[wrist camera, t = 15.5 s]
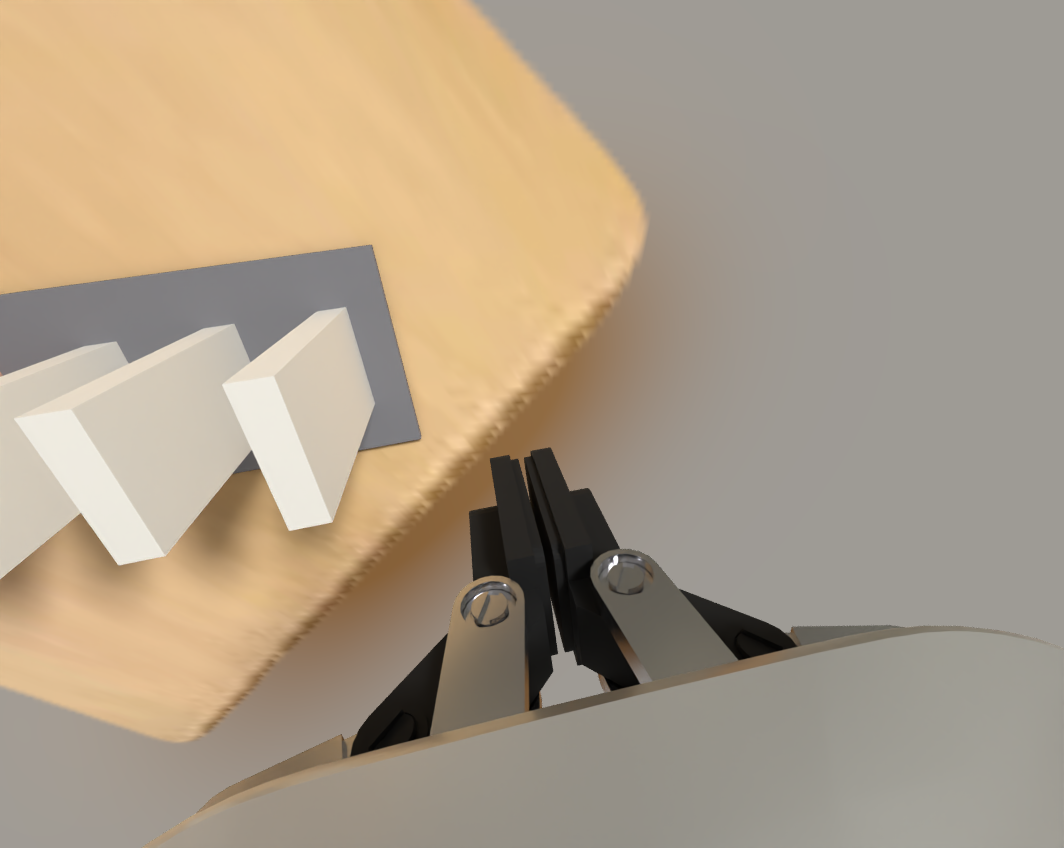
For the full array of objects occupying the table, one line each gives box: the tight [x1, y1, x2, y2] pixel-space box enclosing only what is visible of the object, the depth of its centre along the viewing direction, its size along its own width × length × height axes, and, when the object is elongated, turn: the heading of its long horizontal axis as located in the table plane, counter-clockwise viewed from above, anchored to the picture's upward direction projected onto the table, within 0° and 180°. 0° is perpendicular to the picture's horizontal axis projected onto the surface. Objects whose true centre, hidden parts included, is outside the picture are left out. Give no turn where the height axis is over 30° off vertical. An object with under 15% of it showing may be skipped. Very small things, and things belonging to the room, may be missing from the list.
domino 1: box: [0, 342, 129, 579], centre depth 20 cm, size 2×6×12 cm, turn 7°
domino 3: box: [222, 307, 375, 531], centre depth 21 cm, size 2×6×12 cm, turn 7°
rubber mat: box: [0, 245, 421, 474], centre depth 25 cm, size 36×12×1 cm, turn 97°
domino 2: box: [14, 324, 252, 565], centre depth 20 cm, size 2×6×12 cm, turn 7°
